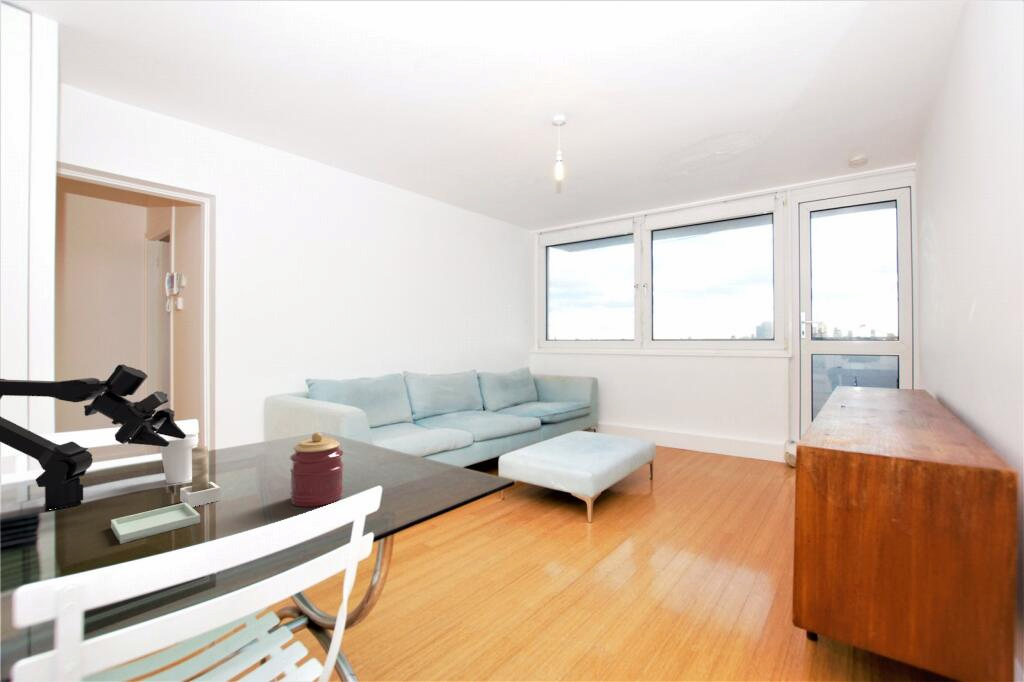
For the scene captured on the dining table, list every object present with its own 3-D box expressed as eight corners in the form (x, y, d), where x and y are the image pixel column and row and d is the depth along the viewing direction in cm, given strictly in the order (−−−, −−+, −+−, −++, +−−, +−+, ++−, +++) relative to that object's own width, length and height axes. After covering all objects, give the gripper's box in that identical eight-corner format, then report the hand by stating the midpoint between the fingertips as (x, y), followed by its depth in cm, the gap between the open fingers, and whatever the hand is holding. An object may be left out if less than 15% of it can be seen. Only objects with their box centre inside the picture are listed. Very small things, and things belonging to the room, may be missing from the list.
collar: (187, 508, 112) (187, 494, 112) (180, 501, 116) (180, 488, 116) (220, 500, 117) (220, 487, 117) (212, 494, 122) (211, 481, 122)
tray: (120, 543, 93) (120, 535, 93) (111, 527, 100) (111, 519, 100) (200, 522, 103) (200, 514, 103) (186, 509, 111) (186, 502, 111)
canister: (352, 497, 119) (352, 431, 119) (303, 512, 109) (302, 440, 109) (329, 487, 127) (329, 425, 127) (282, 499, 118) (281, 433, 118)
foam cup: (206, 475, 138) (205, 434, 138) (181, 485, 129) (180, 440, 129) (178, 474, 139) (177, 433, 139) (151, 484, 130) (150, 440, 130)
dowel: (194, 504, 114) (193, 450, 114) (190, 501, 116) (190, 448, 116) (210, 500, 117) (209, 447, 117) (206, 497, 119) (205, 445, 119)
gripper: (119, 388, 109) (179, 422, 112) (159, 381, 127) (210, 410, 130) (88, 426, 107) (150, 460, 111) (133, 413, 125) (185, 442, 129)
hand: (176, 441), depth 120 cm, fingers open, 9 cm apart
